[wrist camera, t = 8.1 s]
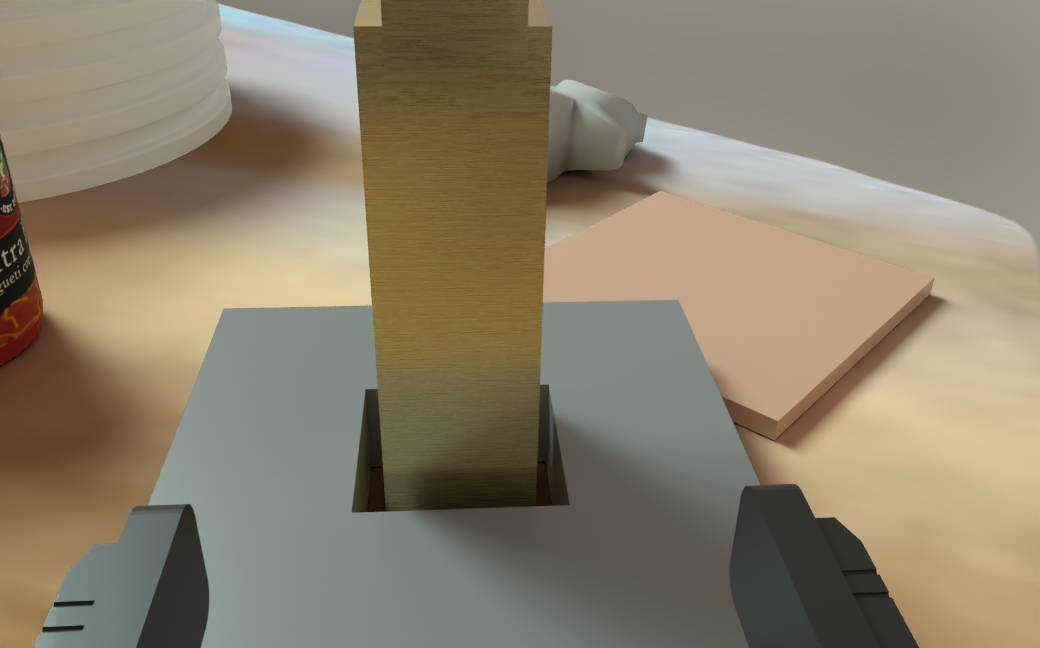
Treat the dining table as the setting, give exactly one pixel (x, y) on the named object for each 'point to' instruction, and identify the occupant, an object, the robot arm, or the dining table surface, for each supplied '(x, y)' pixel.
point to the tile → (742, 298)
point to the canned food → (15, 275)
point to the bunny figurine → (589, 129)
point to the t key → (456, 242)
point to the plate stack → (106, 88)
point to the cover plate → (462, 532)
